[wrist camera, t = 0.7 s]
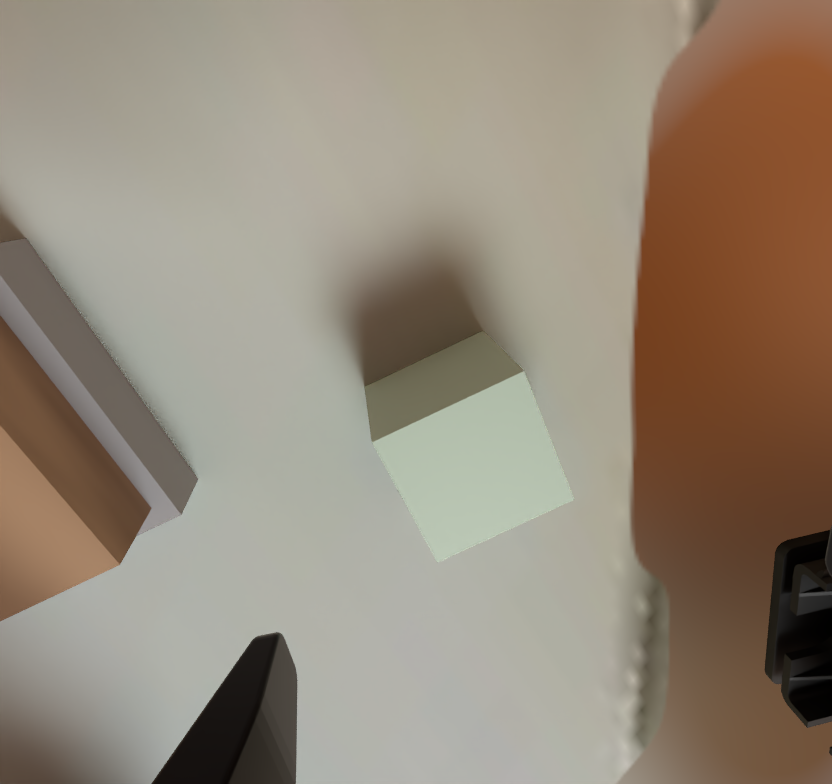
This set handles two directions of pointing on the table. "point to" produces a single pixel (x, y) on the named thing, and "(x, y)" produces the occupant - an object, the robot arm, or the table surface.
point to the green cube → (465, 445)
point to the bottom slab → (91, 382)
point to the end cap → (802, 628)
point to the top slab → (54, 489)
